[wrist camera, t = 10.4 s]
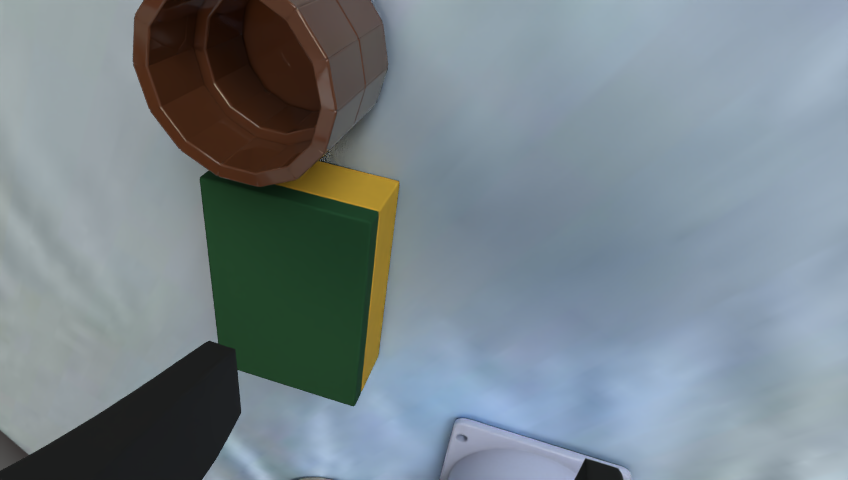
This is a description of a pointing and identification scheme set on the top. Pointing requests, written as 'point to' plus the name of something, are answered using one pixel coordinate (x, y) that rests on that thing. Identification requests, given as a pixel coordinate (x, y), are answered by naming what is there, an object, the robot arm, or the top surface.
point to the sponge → (302, 275)
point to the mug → (314, 479)
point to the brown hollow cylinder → (259, 79)
